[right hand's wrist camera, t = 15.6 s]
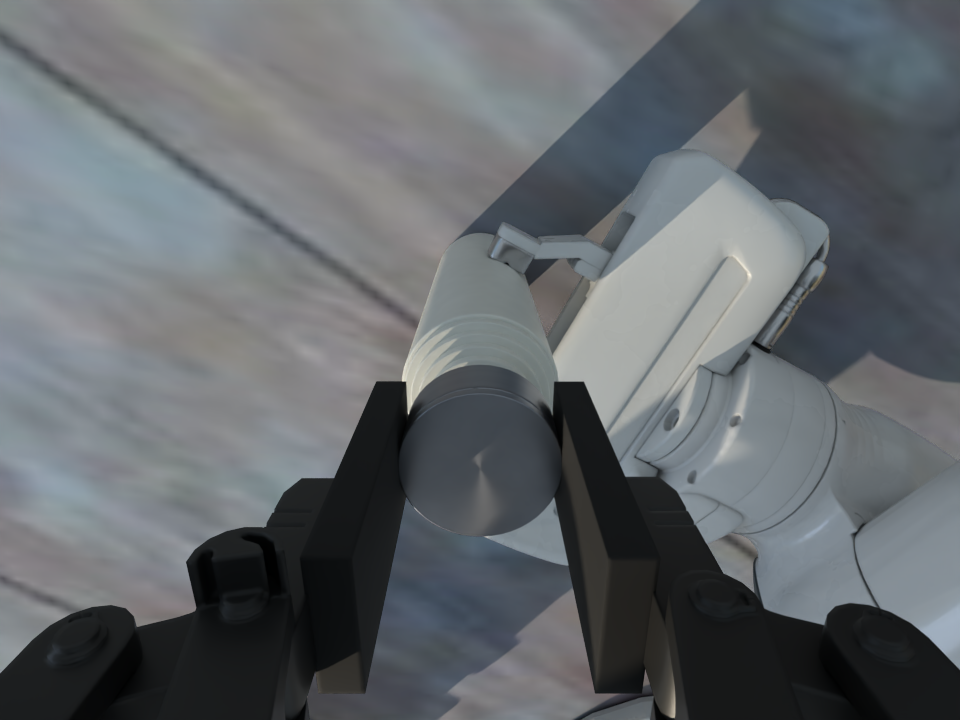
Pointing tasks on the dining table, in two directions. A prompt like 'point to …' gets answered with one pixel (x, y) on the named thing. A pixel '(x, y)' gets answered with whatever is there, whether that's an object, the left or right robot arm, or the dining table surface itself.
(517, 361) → the bottle
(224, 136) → the dining table surface
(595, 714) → the wall clock
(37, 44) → the dining table surface
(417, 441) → the cap
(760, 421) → the left robot arm
